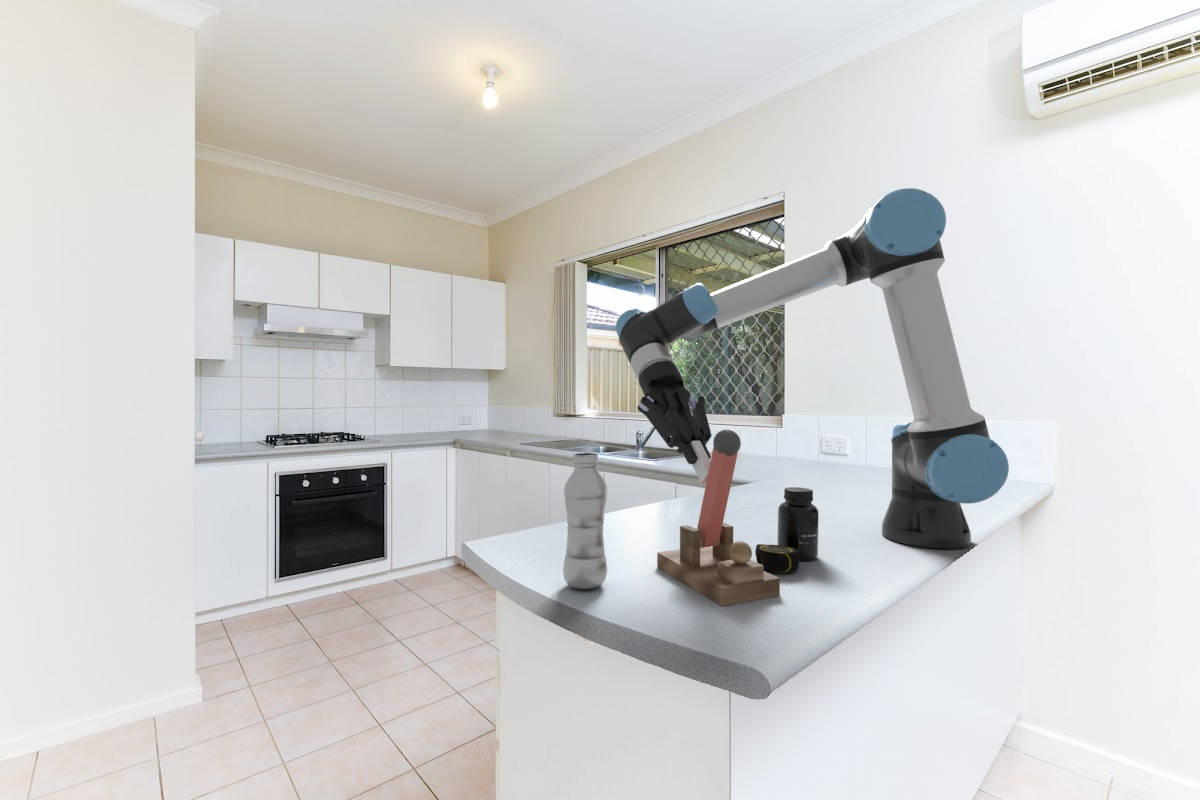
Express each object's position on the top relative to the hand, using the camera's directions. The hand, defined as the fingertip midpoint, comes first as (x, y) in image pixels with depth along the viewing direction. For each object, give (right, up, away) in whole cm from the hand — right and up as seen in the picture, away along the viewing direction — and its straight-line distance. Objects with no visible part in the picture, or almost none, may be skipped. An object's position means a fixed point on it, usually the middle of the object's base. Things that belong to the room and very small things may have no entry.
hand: (708, 478), depth 85 cm
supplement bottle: (+18, -16, +12) cm, 27 cm away
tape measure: (+12, -16, +5) cm, 21 cm away
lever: (0, -10, +1) cm, 10 cm away
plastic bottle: (-19, -16, -3) cm, 25 cm away
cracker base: (+1, -16, 0) cm, 16 cm away
